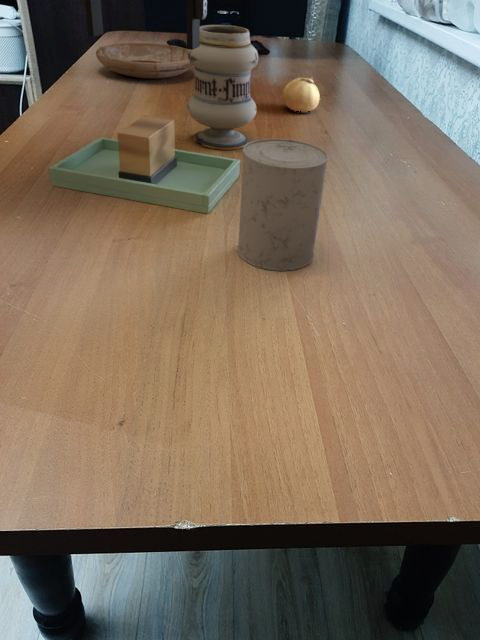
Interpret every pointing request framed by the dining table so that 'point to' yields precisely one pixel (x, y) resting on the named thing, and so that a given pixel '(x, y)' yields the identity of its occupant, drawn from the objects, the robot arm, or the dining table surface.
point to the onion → (301, 95)
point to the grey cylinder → (280, 203)
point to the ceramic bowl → (144, 59)
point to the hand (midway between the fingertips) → (143, 41)
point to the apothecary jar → (222, 85)
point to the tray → (173, 190)
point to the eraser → (147, 149)
